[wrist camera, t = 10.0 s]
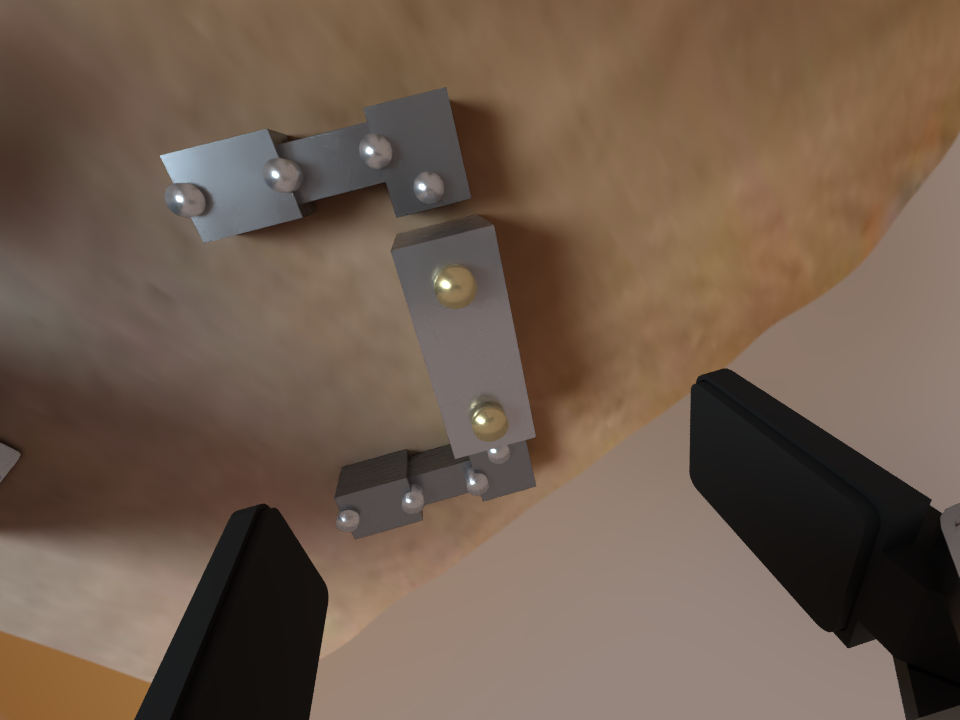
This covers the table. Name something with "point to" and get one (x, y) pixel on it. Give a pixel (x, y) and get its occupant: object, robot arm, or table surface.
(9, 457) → the string lights box
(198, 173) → the chain end
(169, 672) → the robot arm
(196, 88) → the table surface
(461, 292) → the link
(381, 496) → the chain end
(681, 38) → the table surface
